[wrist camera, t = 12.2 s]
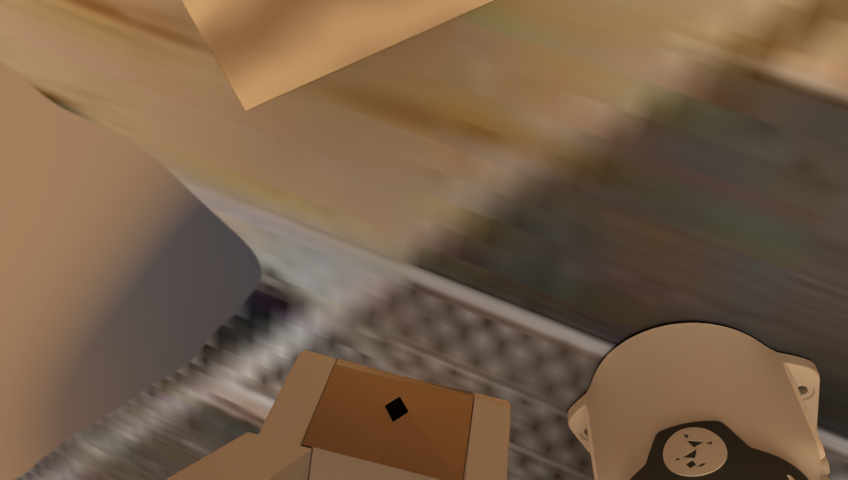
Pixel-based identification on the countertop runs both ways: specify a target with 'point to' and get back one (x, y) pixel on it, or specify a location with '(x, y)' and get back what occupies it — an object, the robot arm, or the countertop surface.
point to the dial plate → (307, 36)
